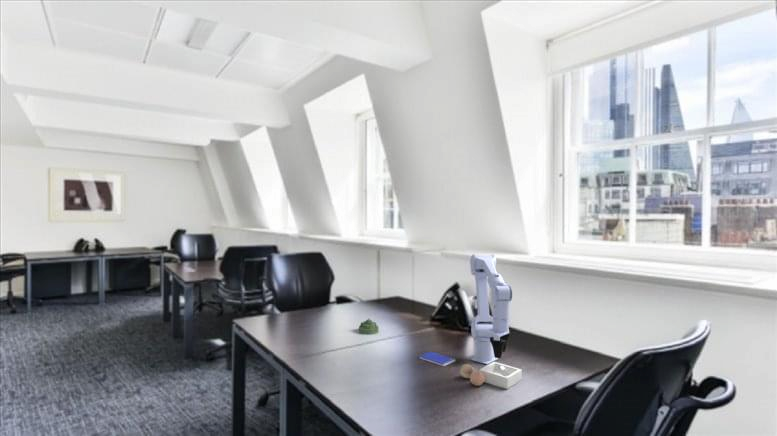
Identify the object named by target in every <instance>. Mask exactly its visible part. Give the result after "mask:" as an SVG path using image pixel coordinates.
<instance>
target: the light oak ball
mask: <svg viewBox="0 0 777 436" xmlns="http://www.w3.org/2000/svg"><path fill="white" fill-rule="evenodd" d="M474 371H475V370H474V368H473V366H472V365H470V364H468V363H465V364H463V365H461V367H460V371H459V372H460V375H461V377H463V379H470V375H471V373H472V372H474Z"/></svg>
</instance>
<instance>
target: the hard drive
mask: <svg viewBox="0 0 777 436" xmlns="http://www.w3.org/2000/svg"><path fill="white" fill-rule="evenodd" d="M419 359H421V360H423V361H426V362H429V363H433V364H437V365H438V366H442V367H445V366H447V365H450V364H452V363H455V362H456V358H453V357H450V356H447V355H443V354H440V353H437V352H436V353H435V352H432V351H429V352H427V353H423V354H422V355H419Z"/></svg>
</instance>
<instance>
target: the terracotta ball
mask: <svg viewBox="0 0 777 436" xmlns="http://www.w3.org/2000/svg"><path fill="white" fill-rule="evenodd" d="M469 380H470V382H471V384H472V385H473V386H476V387H478V386H481V385H482V384H483V383H485V382H484V376H483V374H482V373H481V372H480V371H479V370H474V372H472V373H471V375H470V378H469Z"/></svg>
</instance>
